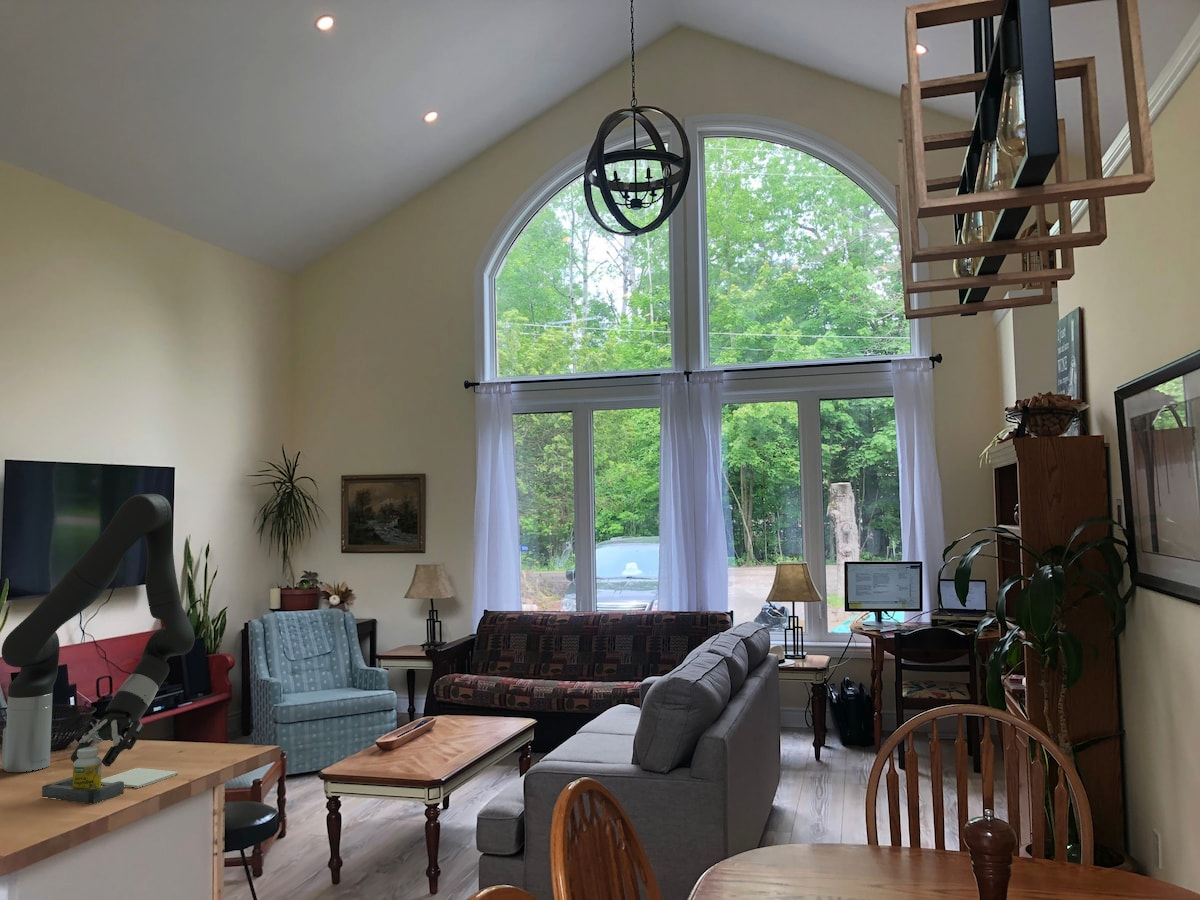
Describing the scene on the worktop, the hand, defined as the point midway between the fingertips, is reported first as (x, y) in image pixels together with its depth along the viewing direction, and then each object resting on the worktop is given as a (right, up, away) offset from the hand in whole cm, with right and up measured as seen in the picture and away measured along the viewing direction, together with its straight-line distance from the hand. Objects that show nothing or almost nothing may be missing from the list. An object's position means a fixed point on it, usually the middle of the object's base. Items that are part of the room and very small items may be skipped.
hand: (89, 763), depth 200 cm
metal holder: (0, -6, -1) cm, 7 cm away
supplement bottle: (0, -7, -1) cm, 7 cm away
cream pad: (+5, -7, +11) cm, 14 cm away
